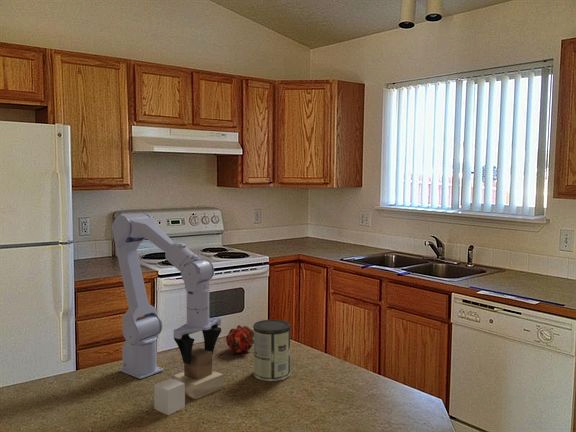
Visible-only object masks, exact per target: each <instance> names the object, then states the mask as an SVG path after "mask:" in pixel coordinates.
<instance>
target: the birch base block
mask: <svg viewBox="0 0 576 432" xmlns="http://www.w3.org/2000/svg"><path fill="white" fill-rule="evenodd" d="M173 379H175V380H177V381H180V382H182V383H185V396H187V397H190V398H192V399H194V400H197V399H200V398H202V397H204V396H207V395H209V394H212V393H215V392H217V391H221V390H222V389H224V374H223V373H220V372H218V371H215V370H213V369H212V374H211V375H209V376H207V377H204V378H202V379H200V380H195V379H193V378H190V377H187V376H185V375H184V371H182V372H179V373H176V374H174V375H173Z"/></svg>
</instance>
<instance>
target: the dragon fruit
mask: <svg viewBox="0 0 576 432" xmlns="http://www.w3.org/2000/svg"><path fill="white" fill-rule="evenodd" d="M225 340H226V344H227V346H228V347H229V349H230V350H231V353H232V354H233V355H235V354H239V353H240V354H241V353H243V352H245V353H247V352H249V350H250V349H252V347H254V330H252V329H251V328H250V327H249V326H248V325H243V326H241V325H239V324H238V325H237V326H236V328H231V329H230V330H229V332H228V334H227V336H226V337H225Z"/></svg>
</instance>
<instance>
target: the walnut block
mask: <svg viewBox="0 0 576 432" xmlns="http://www.w3.org/2000/svg"><path fill="white" fill-rule="evenodd" d="M183 364H184V365H183V372H184V375H185V376H187V377H190V378H193V379H195V380H200V379H202V378H204V377H207V376H209V375H211V374H212V370H213V355H212V352H211V351H208V350H205V348H201V347H196V348H194V349H193V348H192V357H191V364H186V363H183Z"/></svg>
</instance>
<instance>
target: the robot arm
mask: <svg viewBox="0 0 576 432" xmlns="http://www.w3.org/2000/svg"><path fill="white" fill-rule="evenodd" d="M110 228H111V230H112V231H111V232H112V236H113V240H114V245H115V250H116V251H115V252H116V256H117V259H118V260H117V261H118V265H119V269H120V274H121V278H122V282H123V284H122V285H123V287H124V294H125V298H126V301H127V307H128V309H127V310H126V312H125V313H124V315H123V316H122V317H121V319H122V336H123V338H124V339H125V341H124V342H123V345H122V350H121V353H122V355H121V357H122V368H120V369H119V371H120V372H121V373H125V374H126V375H129V376H132V377H135V378H136V379H139V380H141V379H145V378H147V377H150V376H152V375H153V376H154V375H155V374H158V373H160V372H163V371H164V368H163V367H160V366H158V365H157V361H158V358H157V352H158V351H157V340H158V339H159V335H160V334H161V333H162V331H163V320H162V319H161V317H160V316H159V313H158V309H157V308H156V307H155V306H153V305H151V304H150V303H149V298H148V294H147V290H146V285H145V280H144V276H143V272H142V267H141V262H140V259H139V258H140V257H139V254H138V247H139V246H140V245H141V244H142V243H143V242H144V241H145V240H146V239H147V240H148V241H149V242H151V243H152V244H153V245H155V246H156V247H157V248H159V249H160V250H161V251H163V252H164V253H165V255H164V256H165V260H166V261H168V262H169V264H171V265H172V266H173V267H174V268H175V269H176V270H178V271H179V272H180V275H181V278H182V280H183V283H184V289H185V292H186V323H185V324H183V325H182V326H180V327H178V328H175V329H173V340H174V341H175V343H176V345H177V346H178V348H179V349H178V350H179V352H180V355H181V358H182V363H183V364H184V363H186V364H191V357H192V350H193V345H194V342H195V338H193V337H191V336H190V335H192V334H195V333H198V332H202V335H203V336H202V337H203V343H204V344H203V345H204V349H205V350H208V351H211V352H212V356H213V355H214V350H215V347H216V343H217V341H218V338H219V336H220V334H221V333H222V327H220V326H222V324H221V323H222V321H221V319H222V318H220V317H216V316H215V317H210V280H212V279H213V277H214V274H215V267H214V265H213V263H212V262H211V261H210V260H209V259H208V258H206V257H205V258H204V257H203V258H202V257H199V255H197V254H195V253H194V252H193V251H191V249H189V248H188V247H187V244H186V243H184V242H180V241H179V242H174V240H172V239H171V237H169V236H168V235H167V234H166V233H165V231H163V230H162V228H160V227H159V225H157V222H156V219H155V218H154V217H152V215H151V214H149V213H146V212H143V213H139V214H138V213H136V214H126V215H123V214H120V215H117V216H116V217H115V219H114V221H113V223H112V224H111V227H110Z"/></svg>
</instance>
